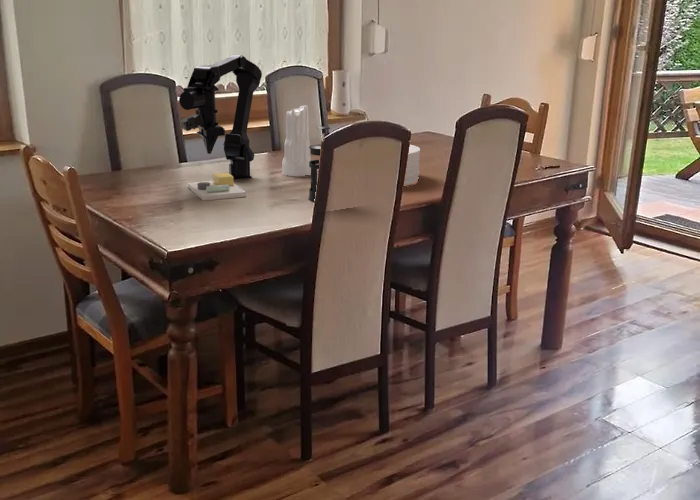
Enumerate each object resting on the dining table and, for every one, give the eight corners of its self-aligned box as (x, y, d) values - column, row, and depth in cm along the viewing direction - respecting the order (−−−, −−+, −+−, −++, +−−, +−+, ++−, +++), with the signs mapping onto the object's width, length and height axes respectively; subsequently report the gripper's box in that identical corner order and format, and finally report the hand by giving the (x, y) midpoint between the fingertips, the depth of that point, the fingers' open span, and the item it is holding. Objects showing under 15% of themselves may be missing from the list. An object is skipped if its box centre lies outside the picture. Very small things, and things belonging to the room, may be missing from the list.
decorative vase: (277, 175, 282) (276, 105, 274) (290, 169, 291) (289, 102, 284) (304, 177, 278) (304, 107, 271) (316, 172, 287) (317, 103, 280)
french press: (300, 199, 246) (300, 126, 240) (319, 194, 254) (319, 123, 247) (329, 205, 240) (330, 130, 233) (348, 200, 247) (349, 127, 240)
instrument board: (228, 183, 266) (228, 170, 264) (246, 196, 248) (245, 182, 247) (188, 187, 260) (187, 174, 259) (202, 200, 243) (201, 186, 242)
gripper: (174, 103, 258) (177, 150, 263) (189, 111, 243) (192, 161, 247) (207, 102, 263) (210, 148, 268) (224, 109, 247) (226, 158, 252)
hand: (209, 153), depth 259 cm, fingers closed
